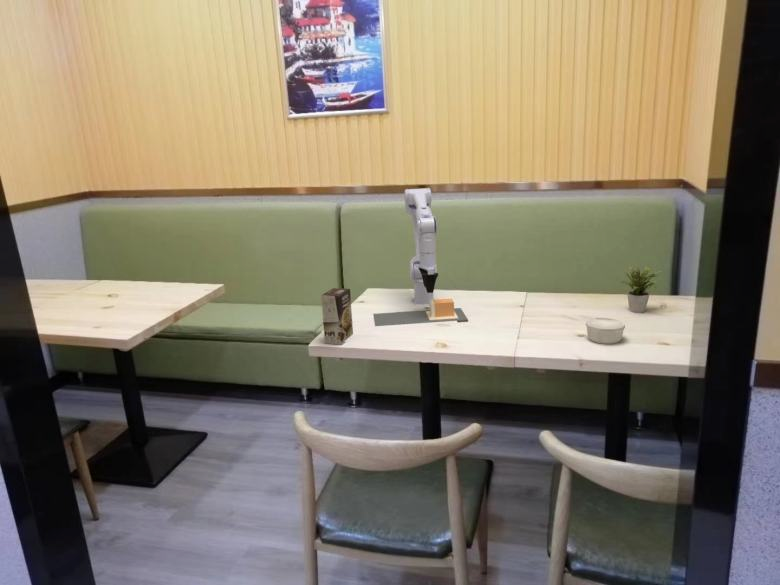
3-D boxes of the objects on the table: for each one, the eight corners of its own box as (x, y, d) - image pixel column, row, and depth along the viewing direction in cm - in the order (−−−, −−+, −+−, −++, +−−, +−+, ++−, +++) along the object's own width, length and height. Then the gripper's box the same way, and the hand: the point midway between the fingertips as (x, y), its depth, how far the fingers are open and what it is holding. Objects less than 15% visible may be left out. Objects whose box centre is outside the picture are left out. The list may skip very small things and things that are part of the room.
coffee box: (342, 345, 184) (338, 295, 180) (324, 343, 186) (320, 294, 182) (354, 335, 192) (350, 288, 188) (336, 334, 194) (332, 287, 190)
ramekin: (621, 333, 182) (622, 317, 181) (626, 346, 172) (627, 329, 170) (583, 332, 185) (584, 316, 183) (586, 345, 174) (587, 328, 173)
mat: (373, 315, 212) (373, 313, 212) (460, 309, 214) (460, 307, 213) (375, 327, 198) (375, 326, 198) (468, 321, 200) (468, 319, 200)
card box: (452, 311, 209) (451, 298, 207) (454, 315, 204) (454, 302, 203) (429, 313, 208) (429, 300, 207) (431, 317, 204) (431, 303, 202)
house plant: (657, 320, 192) (661, 271, 188) (613, 315, 199) (616, 268, 195) (662, 308, 204) (666, 262, 200) (620, 303, 211) (623, 259, 206)
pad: (425, 311, 211) (425, 311, 211) (453, 310, 211) (453, 309, 211) (429, 320, 201) (429, 319, 201) (458, 318, 202) (458, 318, 202)
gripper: (413, 248, 210) (415, 285, 213) (418, 257, 196) (419, 295, 199) (433, 247, 210) (434, 283, 214) (439, 255, 196) (440, 294, 200)
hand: (428, 289), depth 207 cm, fingers open, 7 cm apart
